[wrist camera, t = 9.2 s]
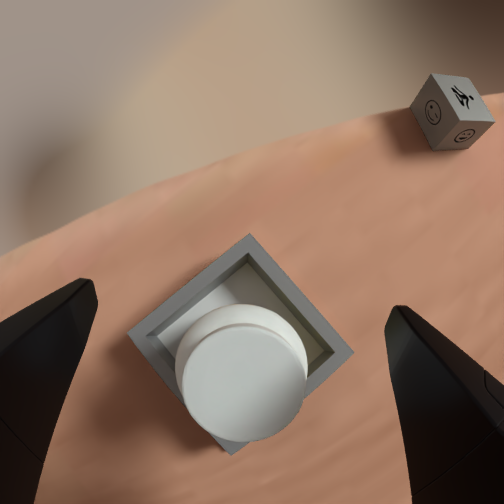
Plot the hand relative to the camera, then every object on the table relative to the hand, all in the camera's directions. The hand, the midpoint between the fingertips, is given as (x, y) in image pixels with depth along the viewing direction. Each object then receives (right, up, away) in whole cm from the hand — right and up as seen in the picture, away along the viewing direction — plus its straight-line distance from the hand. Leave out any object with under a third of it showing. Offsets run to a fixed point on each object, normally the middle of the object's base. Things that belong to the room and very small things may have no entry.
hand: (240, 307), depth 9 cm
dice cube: (+18, +13, +16) cm, 28 cm away
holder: (0, -4, +11) cm, 12 cm away
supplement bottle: (0, -4, +10) cm, 11 cm away
